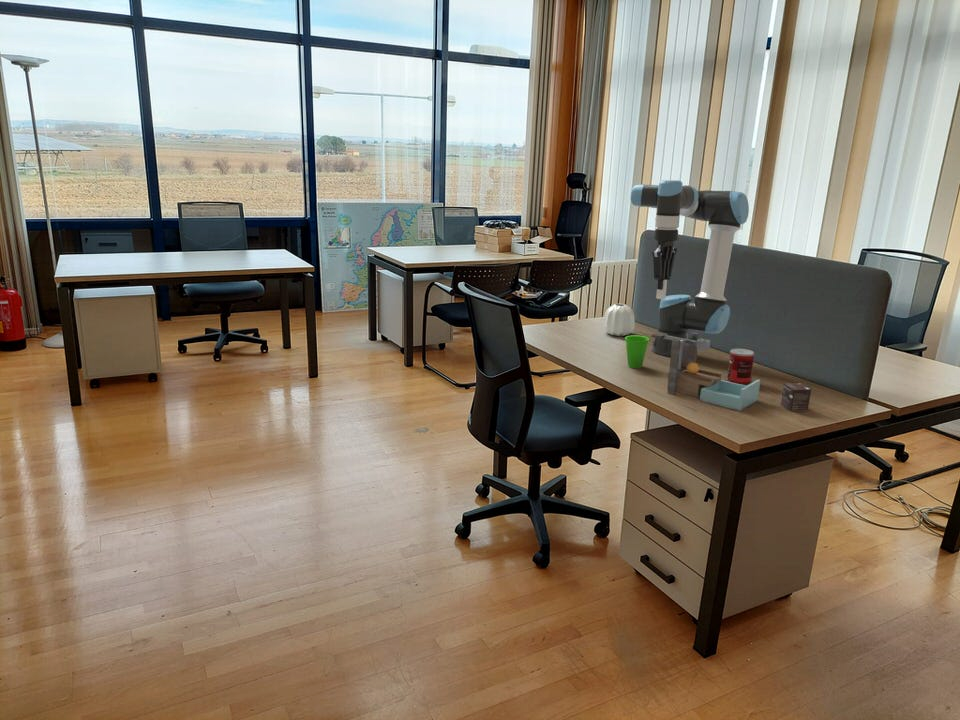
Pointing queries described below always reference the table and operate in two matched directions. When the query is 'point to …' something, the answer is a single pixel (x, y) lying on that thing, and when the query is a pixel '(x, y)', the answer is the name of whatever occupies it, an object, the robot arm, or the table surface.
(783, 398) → the box
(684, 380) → the grey angular frame
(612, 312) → the vase
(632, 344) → the cup
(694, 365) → the ball
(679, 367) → the lever
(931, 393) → the table surface
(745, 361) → the canned food
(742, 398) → the light blue tray
